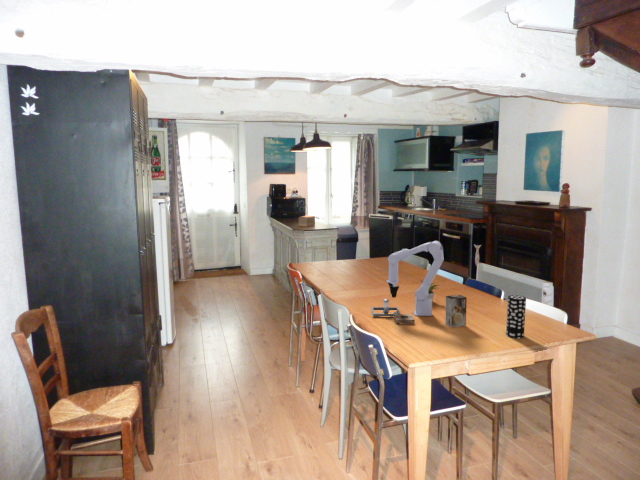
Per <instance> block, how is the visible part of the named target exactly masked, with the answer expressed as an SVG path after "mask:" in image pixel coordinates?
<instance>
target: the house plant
mask: <svg viewBox="0 0 640 480" xmlns="http://www.w3.org/2000/svg"><path fill="white" fill-rule="evenodd" d="M423 281H424V279H421V284H422V283H423ZM438 286H439V284H436V281H433V282H432V283H431V285H430V288H429V293H428V295H427V297H428V299H431V300H432V303H433V302H434V296H435V292H434V291H433V290H438V289H439V290H440V288H438Z"/></svg>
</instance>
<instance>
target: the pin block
mask: <svg viewBox="0 0 640 480" xmlns="http://www.w3.org/2000/svg"><path fill="white" fill-rule="evenodd" d="M394 318H395V319H394ZM393 319H394V322H395V321H396V322H395V324H396V323H402V324H401V325H415V323H416V322H415V318H414V316H413V314H410V313H409V314H403V313H401V314H394V317H393Z"/></svg>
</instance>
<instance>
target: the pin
mask: <svg viewBox="0 0 640 480" xmlns="http://www.w3.org/2000/svg"><path fill="white" fill-rule="evenodd" d="M382 302H383V306H382V307H383V313H384V314H388V313H389V307H390V305H389V304H390V299H388V298H383V299H382Z"/></svg>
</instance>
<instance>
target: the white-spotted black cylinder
mask: <svg viewBox="0 0 640 480" xmlns="http://www.w3.org/2000/svg"><path fill="white" fill-rule="evenodd" d="M526 302H527V297H525V296H523V295H517V294H511V295H508V296H507V311H506V313H507V314H506V332H505V335H506V336H507V337H508V338H512V339H523V338H525V323H526V322H525V321H526V306H527V303H526Z"/></svg>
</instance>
